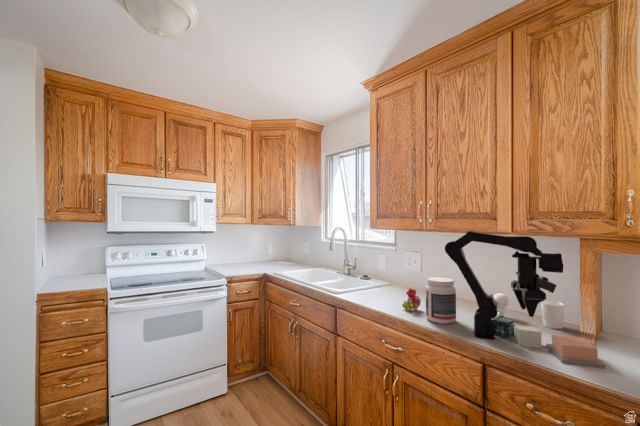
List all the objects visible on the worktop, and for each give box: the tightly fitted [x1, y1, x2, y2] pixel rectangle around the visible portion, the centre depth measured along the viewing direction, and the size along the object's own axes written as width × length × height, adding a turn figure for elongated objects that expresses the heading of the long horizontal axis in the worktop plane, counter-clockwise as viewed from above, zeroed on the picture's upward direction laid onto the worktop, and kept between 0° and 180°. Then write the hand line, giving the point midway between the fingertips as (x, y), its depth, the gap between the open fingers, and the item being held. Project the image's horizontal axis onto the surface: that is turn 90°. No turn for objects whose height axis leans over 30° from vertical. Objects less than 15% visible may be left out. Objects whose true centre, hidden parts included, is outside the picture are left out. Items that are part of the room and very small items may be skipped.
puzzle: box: [492, 316, 515, 340], centre depth 118 cm, size 6×6×6 cm
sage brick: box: [514, 325, 542, 348], centre depth 110 cm, size 7×5×6 cm, turn 71°
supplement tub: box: [425, 276, 457, 325], centre depth 135 cm, size 13×13×18 cm
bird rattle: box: [401, 287, 422, 313], centre depth 150 cm, size 6×11×9 cm
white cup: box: [540, 300, 565, 330], centre depth 128 cm, size 8×8×10 cm
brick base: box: [545, 334, 606, 369], centre depth 99 cm, size 11×13×5 cm
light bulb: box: [493, 292, 510, 317], centre depth 141 cm, size 7×7×11 cm
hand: (527, 312), depth 110 cm, fingers open, 9 cm apart
